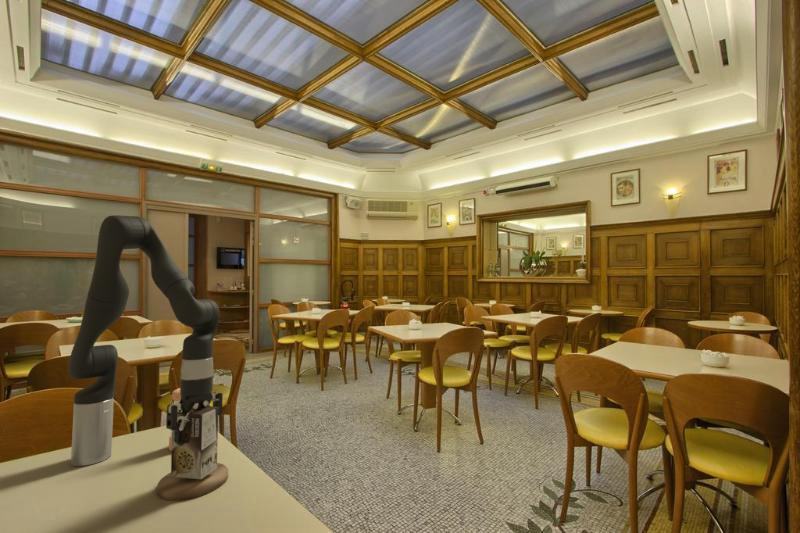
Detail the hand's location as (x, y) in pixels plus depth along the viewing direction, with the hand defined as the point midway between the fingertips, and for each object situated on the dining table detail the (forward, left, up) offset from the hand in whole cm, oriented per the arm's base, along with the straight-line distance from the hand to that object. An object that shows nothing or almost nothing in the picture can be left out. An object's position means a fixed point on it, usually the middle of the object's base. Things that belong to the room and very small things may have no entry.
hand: (195, 438), depth 96 cm
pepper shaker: (-25, +12, -11) cm, 30 cm away
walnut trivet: (0, 0, -11) cm, 11 cm away
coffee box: (0, 0, -9) cm, 9 cm away
